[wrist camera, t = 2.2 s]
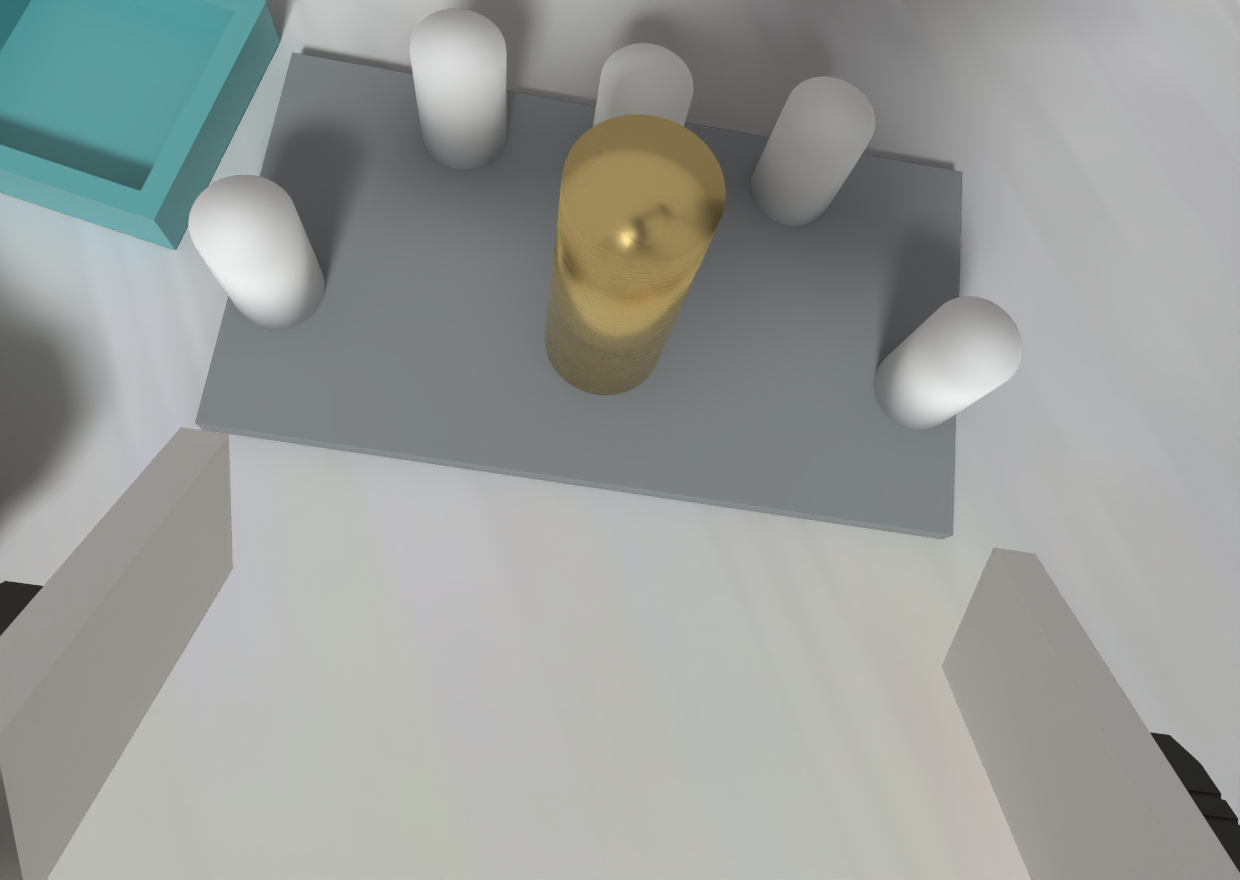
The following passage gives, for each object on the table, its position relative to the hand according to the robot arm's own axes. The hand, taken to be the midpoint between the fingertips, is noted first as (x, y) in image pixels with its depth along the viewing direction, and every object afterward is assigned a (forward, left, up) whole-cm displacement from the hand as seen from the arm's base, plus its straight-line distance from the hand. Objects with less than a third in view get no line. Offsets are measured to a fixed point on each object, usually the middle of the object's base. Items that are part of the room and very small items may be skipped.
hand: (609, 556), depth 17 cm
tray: (+21, -13, -15) cm, 29 cm away
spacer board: (+2, -12, -15) cm, 19 cm away
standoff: (+2, -10, -14) cm, 17 cm away
